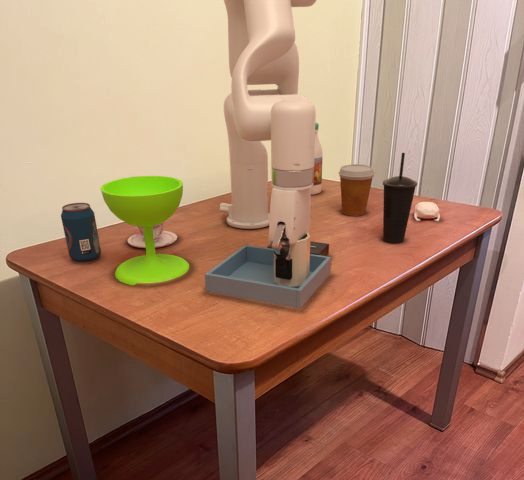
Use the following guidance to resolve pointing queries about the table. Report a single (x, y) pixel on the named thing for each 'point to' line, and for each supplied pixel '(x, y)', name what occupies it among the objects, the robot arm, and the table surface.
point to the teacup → (159, 236)
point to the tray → (263, 277)
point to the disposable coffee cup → (355, 188)
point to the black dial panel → (316, 248)
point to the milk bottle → (317, 165)
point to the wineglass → (146, 224)
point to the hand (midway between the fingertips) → (291, 270)
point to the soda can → (81, 233)
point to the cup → (296, 262)
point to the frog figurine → (426, 211)
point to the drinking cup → (397, 205)
